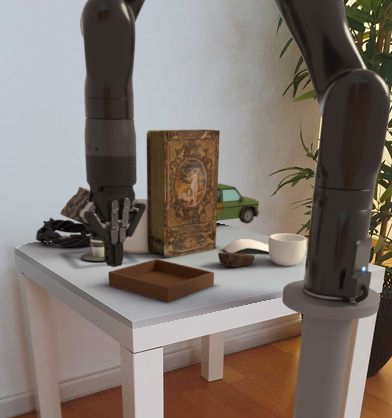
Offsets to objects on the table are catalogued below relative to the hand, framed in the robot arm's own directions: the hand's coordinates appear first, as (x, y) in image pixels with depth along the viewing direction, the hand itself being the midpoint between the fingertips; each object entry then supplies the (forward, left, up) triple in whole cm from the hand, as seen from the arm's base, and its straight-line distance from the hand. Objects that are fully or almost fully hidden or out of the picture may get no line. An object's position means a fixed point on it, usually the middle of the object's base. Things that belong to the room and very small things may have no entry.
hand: (114, 265), depth 89 cm
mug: (+22, -29, -6) cm, 37 cm away
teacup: (-8, -41, -6) cm, 42 cm away
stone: (-2, -32, -6) cm, 32 cm away
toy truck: (+27, -65, -6) cm, 70 cm away
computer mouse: (+3, -45, -6) cm, 45 cm away
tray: (0, -11, -6) cm, 12 cm away
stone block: (+39, -29, +6) cm, 49 cm away
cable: (+40, -24, -6) cm, 47 cm away
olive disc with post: (+23, -17, -6) cm, 29 cm away
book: (+14, -34, -6) cm, 37 cm away
